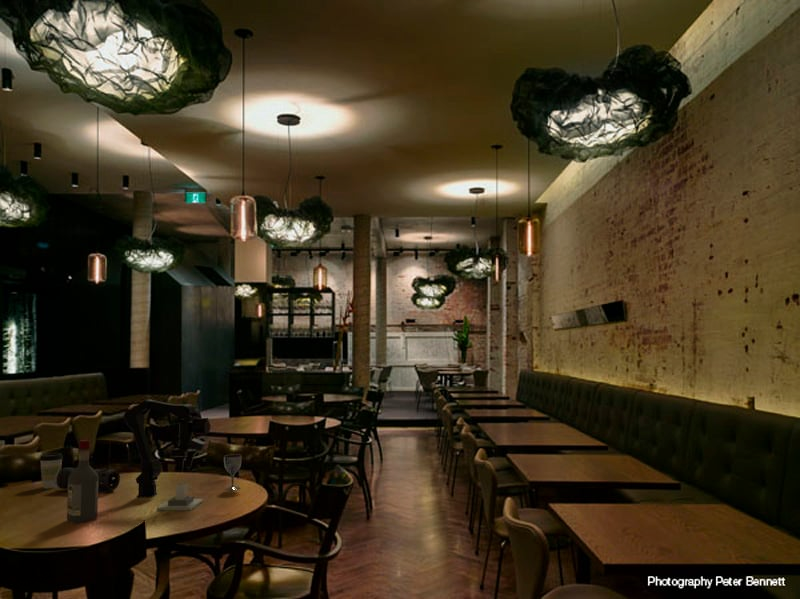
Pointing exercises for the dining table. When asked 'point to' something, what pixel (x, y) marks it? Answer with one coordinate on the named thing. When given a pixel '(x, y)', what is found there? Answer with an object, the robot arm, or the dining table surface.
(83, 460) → the liquor
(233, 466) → the wine glass
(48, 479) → the coffee cup
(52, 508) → the dining table surface
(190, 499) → the end holder
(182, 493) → the connector plug
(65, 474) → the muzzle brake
